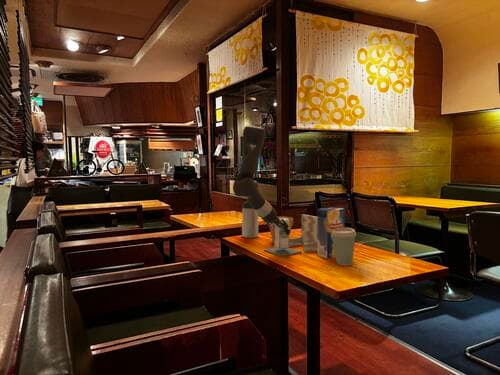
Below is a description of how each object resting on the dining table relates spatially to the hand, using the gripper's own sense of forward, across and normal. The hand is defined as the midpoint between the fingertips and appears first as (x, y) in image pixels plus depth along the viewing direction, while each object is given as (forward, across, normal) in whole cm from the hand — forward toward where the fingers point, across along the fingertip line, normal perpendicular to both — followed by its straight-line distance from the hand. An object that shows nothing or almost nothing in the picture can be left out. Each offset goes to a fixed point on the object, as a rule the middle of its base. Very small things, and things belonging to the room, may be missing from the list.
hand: (284, 232), depth 175 cm
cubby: (+16, 0, -2) cm, 16 cm away
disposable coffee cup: (+12, -31, +2) cm, 33 cm away
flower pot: (+16, +19, -2) cm, 25 cm away
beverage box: (+17, -18, -3) cm, 25 cm away
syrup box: (+4, 0, +6) cm, 8 cm away
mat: (+6, 0, +8) cm, 10 cm away
